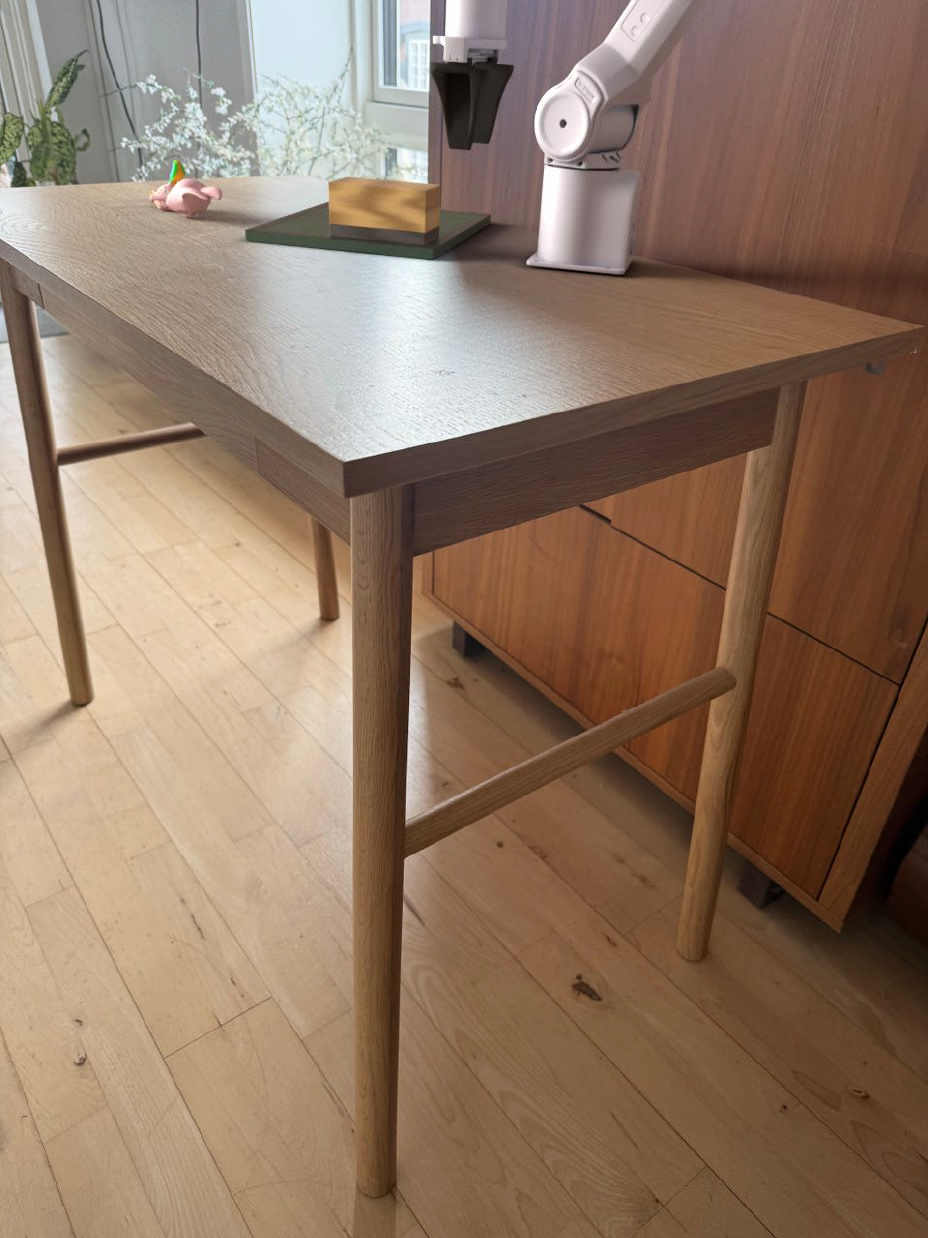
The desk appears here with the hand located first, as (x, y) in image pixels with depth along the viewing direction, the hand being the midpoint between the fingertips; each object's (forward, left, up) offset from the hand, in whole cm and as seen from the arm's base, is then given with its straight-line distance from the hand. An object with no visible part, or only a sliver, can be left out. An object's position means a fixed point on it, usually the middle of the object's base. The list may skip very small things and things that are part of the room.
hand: (469, 145), depth 93 cm
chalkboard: (+11, -3, -9) cm, 15 cm away
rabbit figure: (+33, -1, -10) cm, 34 cm away
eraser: (+7, +6, -8) cm, 12 cm away
